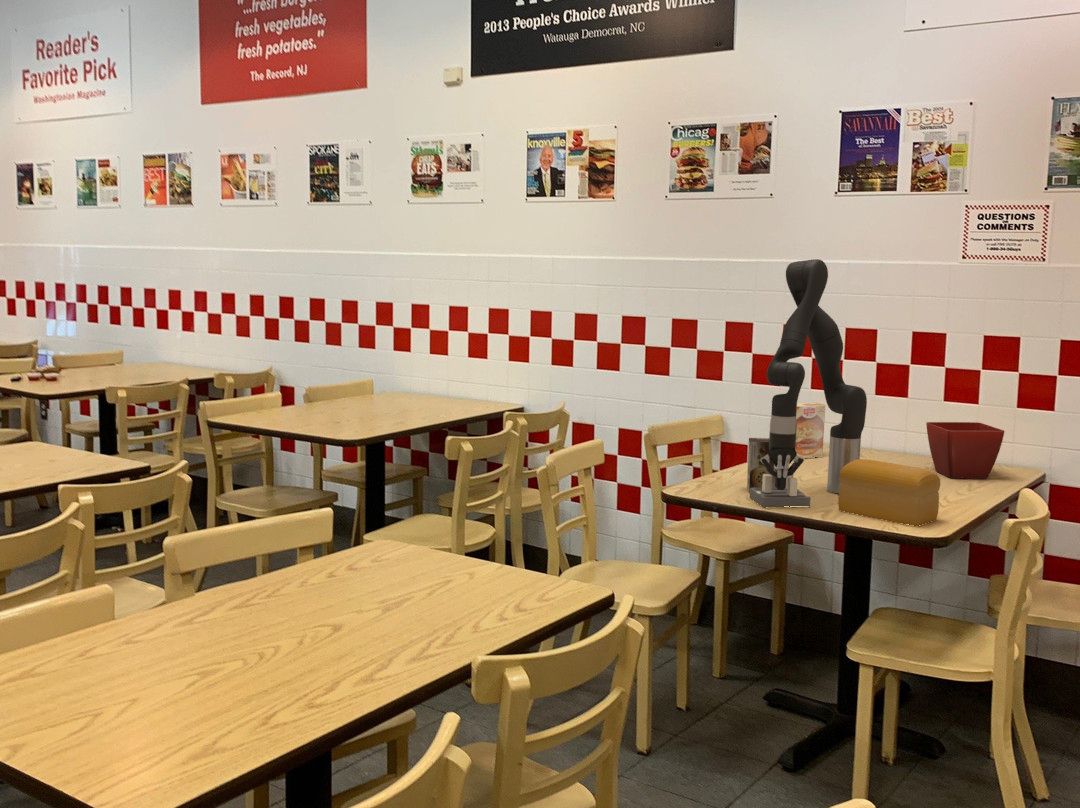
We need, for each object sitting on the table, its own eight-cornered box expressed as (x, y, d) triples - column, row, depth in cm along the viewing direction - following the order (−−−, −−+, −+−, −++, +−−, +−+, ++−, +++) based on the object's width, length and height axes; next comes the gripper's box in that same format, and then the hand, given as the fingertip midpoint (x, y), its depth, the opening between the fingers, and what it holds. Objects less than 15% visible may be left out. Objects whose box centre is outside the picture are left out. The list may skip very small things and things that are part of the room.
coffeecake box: (790, 460, 378) (792, 406, 375) (777, 456, 384) (780, 403, 382) (823, 457, 384) (826, 404, 381) (810, 454, 390) (813, 401, 388)
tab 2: (789, 487, 318) (790, 470, 317) (792, 489, 315) (793, 472, 315) (783, 487, 318) (784, 470, 317) (786, 489, 315) (787, 472, 314)
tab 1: (768, 490, 313) (769, 474, 312) (771, 492, 310) (772, 476, 309) (761, 490, 312) (762, 474, 312) (764, 492, 310) (765, 476, 309)
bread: (938, 520, 295) (942, 467, 293) (916, 527, 286) (920, 473, 284) (859, 504, 312) (862, 454, 310) (836, 511, 304) (839, 459, 301)
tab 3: (793, 494, 309) (794, 477, 308) (796, 496, 306) (797, 479, 306) (786, 494, 309) (787, 477, 308) (789, 496, 306) (790, 479, 305)
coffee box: (775, 488, 331) (778, 438, 328) (778, 493, 324) (780, 441, 322) (746, 487, 331) (748, 437, 329) (748, 492, 325) (750, 440, 323)
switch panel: (794, 497, 319) (795, 487, 319) (810, 507, 306) (810, 497, 306) (749, 497, 318) (749, 487, 317) (763, 508, 305) (763, 497, 304)
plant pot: (921, 469, 366) (925, 421, 364) (976, 469, 367) (979, 421, 364) (944, 481, 347) (948, 430, 345) (1002, 481, 348) (1006, 431, 346)
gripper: (800, 428, 309) (797, 486, 311) (756, 428, 308) (754, 487, 310) (809, 433, 302) (806, 492, 304) (764, 433, 300) (762, 492, 303)
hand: (780, 489), depth 307 cm, fingers closed
